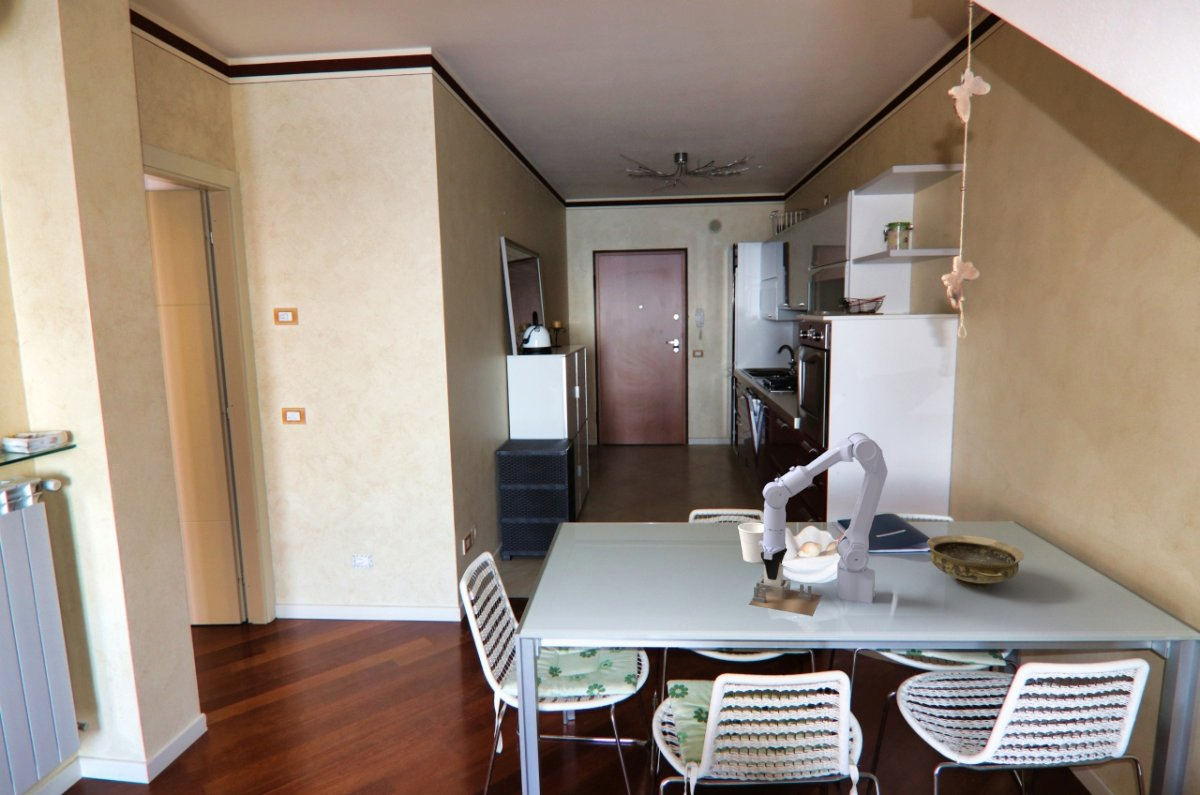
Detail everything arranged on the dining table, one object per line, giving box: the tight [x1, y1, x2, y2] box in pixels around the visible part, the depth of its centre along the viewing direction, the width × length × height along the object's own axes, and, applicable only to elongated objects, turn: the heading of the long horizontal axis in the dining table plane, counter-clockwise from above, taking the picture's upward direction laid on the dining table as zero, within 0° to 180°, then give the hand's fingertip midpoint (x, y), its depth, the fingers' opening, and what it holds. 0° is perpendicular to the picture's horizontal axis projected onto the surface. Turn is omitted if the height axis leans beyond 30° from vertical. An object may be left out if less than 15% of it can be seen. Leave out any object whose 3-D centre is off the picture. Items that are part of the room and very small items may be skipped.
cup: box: [737, 522, 764, 564], centre depth 211 cm, size 10×10×11 cm
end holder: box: [755, 574, 792, 599], centre depth 187 cm, size 8×6×3 cm
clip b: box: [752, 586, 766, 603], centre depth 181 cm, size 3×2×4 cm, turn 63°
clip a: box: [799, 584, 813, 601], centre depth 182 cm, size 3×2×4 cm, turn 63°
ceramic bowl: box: [926, 534, 1025, 588], centre depth 193 cm, size 30×24×10 cm
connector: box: [763, 562, 784, 586], centre depth 186 cm, size 4×3×6 cm, turn 63°
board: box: [748, 589, 823, 617], centre depth 182 cm, size 16×14×1 cm
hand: (773, 576), depth 186 cm, fingers closed on connector, 3 cm apart
